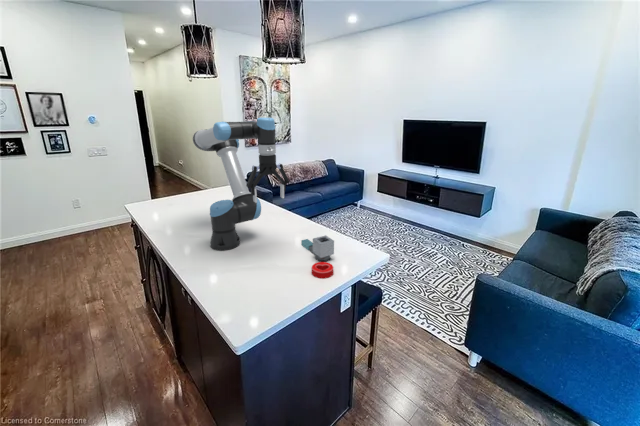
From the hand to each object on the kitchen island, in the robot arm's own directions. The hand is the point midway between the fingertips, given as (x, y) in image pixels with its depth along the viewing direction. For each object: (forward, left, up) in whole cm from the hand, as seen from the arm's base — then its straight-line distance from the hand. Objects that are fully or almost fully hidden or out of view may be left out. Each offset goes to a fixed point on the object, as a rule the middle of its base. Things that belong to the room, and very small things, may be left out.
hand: (269, 199), depth 137 cm
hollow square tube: (+22, +14, -25) cm, 36 cm away
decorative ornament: (+31, +4, -29) cm, 42 cm away
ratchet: (+14, +16, -28) cm, 35 cm away
